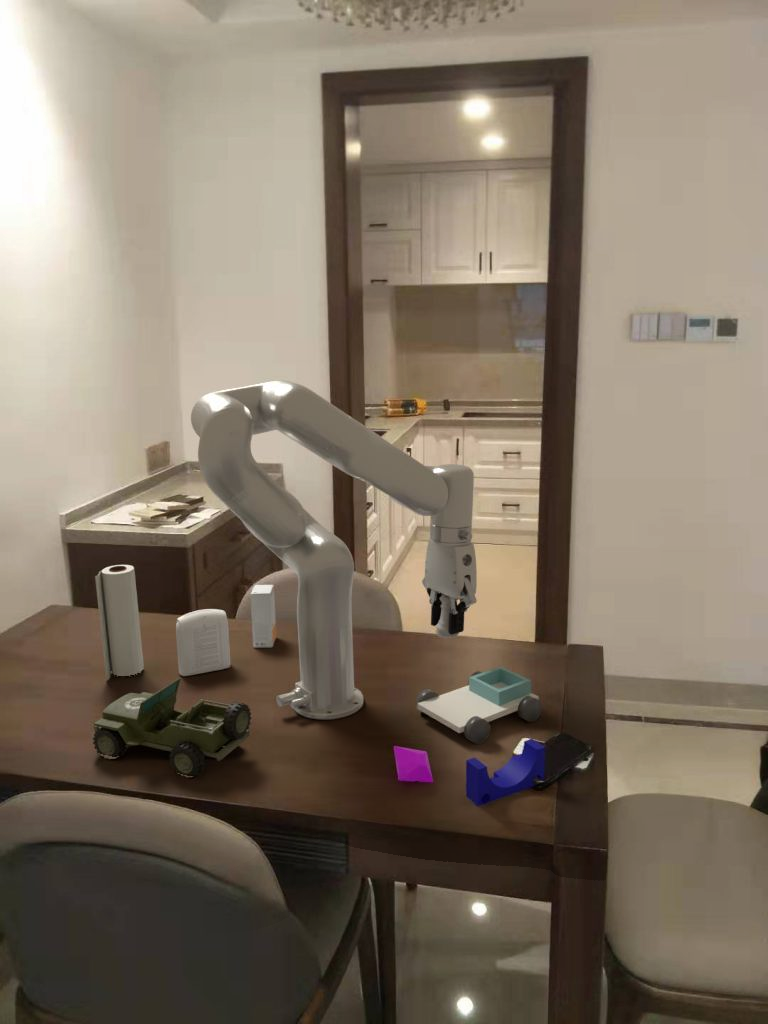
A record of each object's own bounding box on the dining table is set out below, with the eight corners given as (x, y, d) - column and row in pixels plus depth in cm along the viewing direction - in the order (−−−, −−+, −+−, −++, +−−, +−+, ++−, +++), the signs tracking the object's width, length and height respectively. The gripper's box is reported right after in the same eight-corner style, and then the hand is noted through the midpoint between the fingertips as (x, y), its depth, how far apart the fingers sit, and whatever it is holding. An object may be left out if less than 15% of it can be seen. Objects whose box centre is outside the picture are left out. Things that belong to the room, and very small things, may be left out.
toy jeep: (136, 723, 152) (131, 664, 149) (260, 749, 142) (256, 687, 140) (88, 756, 141) (80, 694, 139) (218, 787, 131) (213, 721, 129)
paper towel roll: (142, 663, 177) (133, 562, 171) (144, 675, 171) (134, 570, 166) (105, 668, 174) (94, 566, 169) (106, 681, 169) (94, 575, 164)
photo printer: (227, 660, 177) (223, 602, 174) (233, 668, 173) (229, 609, 170) (176, 671, 173) (171, 612, 170) (182, 679, 169) (176, 618, 166)
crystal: (400, 789, 130) (400, 761, 129) (391, 770, 135) (391, 743, 134) (434, 784, 131) (434, 756, 130) (424, 766, 136) (424, 739, 135)
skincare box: (273, 647, 183) (270, 593, 180) (252, 648, 183) (249, 593, 180) (277, 636, 189) (274, 584, 186) (257, 637, 189) (254, 584, 186)
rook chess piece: (457, 639, 161) (459, 598, 159) (433, 637, 161) (434, 596, 160) (460, 631, 165) (461, 590, 163) (436, 629, 166) (438, 589, 164)
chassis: (466, 748, 140) (466, 717, 139) (411, 715, 152) (410, 686, 151) (546, 716, 151) (546, 686, 149) (488, 687, 162) (488, 659, 161)
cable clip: (525, 770, 134) (525, 734, 133) (544, 783, 131) (545, 747, 129) (460, 792, 129) (460, 755, 127) (478, 807, 125) (478, 769, 123)
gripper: (497, 540, 154) (492, 638, 158) (437, 521, 168) (434, 612, 172) (465, 546, 150) (461, 646, 154) (406, 526, 163) (403, 619, 167)
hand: (447, 627), depth 163 cm, fingers closed on rook chess piece, 4 cm apart
